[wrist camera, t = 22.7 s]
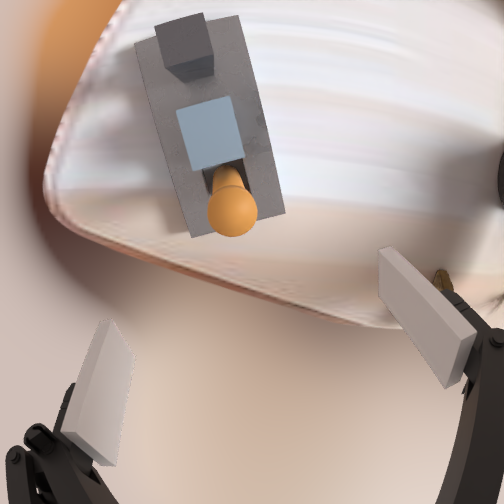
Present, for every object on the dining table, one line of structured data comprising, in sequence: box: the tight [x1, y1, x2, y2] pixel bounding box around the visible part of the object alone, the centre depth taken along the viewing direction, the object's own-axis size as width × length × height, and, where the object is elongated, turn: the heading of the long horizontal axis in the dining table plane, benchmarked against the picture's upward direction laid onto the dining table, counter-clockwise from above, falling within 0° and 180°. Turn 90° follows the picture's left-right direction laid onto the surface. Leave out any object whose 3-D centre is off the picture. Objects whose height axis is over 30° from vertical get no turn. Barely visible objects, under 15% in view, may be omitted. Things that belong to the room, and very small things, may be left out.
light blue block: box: [176, 96, 245, 171], centre depth 30 cm, size 6×5×7 cm
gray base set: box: [134, 13, 285, 238], centre depth 28 cm, size 25×12×16 cm, turn 13°
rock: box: [432, 270, 454, 292], centre depth 48 cm, size 11×9×10 cm
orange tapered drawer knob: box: [207, 165, 257, 237], centre depth 32 cm, size 4×4×14 cm
